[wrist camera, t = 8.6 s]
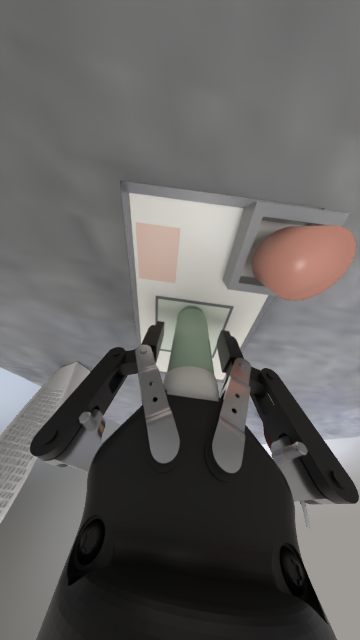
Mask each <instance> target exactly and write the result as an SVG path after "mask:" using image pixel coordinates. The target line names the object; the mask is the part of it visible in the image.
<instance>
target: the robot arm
mask: <svg viewBox="0 0 360 640" xmlns="http://www.w3.org/2000/svg"><path fill="white" fill-rule="evenodd" d="M164 324H165V322H162V321H157V323H156V325H151V326H150V327H149V328H148V330H147V333H146V335H145V337H144V339H143V341H142V344H141V345H140V346H138V347H137V348H136V349H135V350H131V351H125V350H124V349H123V348H121V347H116V348H113V349H111V350H110V351H109V352H108V353H107V354H106V355H105V356H104V357H103V359H102V360H101V361H100V362H99V363H98V364H97V365H96V367H95V368H94V369H93V370H92V371H91V372H90V373H89V375H88V376H87V377H86V378H85V379H84V380H83V381H82V382H81V384H80V385H79V386H78V387H77V388H76V389H75V390H74V392H73V393H72V394H71V395H70V396H69V397H68V398H67V399H66V401H65V402H64V403H63V404H62V405H61V406H60V407H59V409H58V410H57V411H56V412H55V413H54V414H53V415H52V417H51V418H50V419H49V420H48V421H47V422H46V423H45V424H44V426H43V427H42V428H41V429H40V430H39V431H38V432H37V434H36V435H35V436H34V438H33V440H32V442H31V444H30V452H31V454H32V455H33V456H36V457H38V458H40V460H42V461H44V462H47V463H49V464H52V465H57V466H59V467H65V466H68V465H69V466H72V467H74V468H77V469H79V470H82V471H85V472H87V473H88V478H87V494H86V502H85V508H84V512H83V517H82V521H81V524H80V527H79V530H78V533H77V536H76V538H75V541H74V544H73V546H72V549H71V551H70V554H69V556H68V559H67V561H66V563H65V566H64V569H63V571H62V574H61V576H60V579H59V582H58V584H57V587H56V590H55V592H54V595H53V597H52V600H51V603H50V605H49V608H48V610H47V613H46V616H45V618H44V621H43V623H42V626H41V629H40V631H39V634H38V637H37V639H36V640H337V639H336V637H335V634H334V632H333V630H332V628H331V626H330V623H329V622H328V619H327V617H326V615H325V613H324V611H323V608H322V606H321V604H320V602H319V600H318V598H317V595H316V593H315V591H314V589H313V586H312V584H311V582H310V579H309V577H308V575H307V572H306V569H305V567H304V564H303V561H302V558H301V554H300V550H299V546H298V541H297V534H296V527H295V506H294V501H304V502H306V503H308V504H353V503H356V502H358V499H359V495H358V491H357V489H356V487H355V485H354V483H353V481H352V480H351V478H350V477H349V476H348V474H347V473H346V471H345V470H344V468H343V467H342V466H341V464H340V463H339V461H338V460H337V458H336V457H335V456H334V454H333V453H332V451H331V450H330V448H329V447H328V446H327V444H326V443H325V441H324V440H323V439H322V437H321V436H320V434H319V433H318V431H317V430H316V429H315V427H314V426H313V424H312V423H311V421H310V420H309V419H308V417H307V416H306V414H305V413H304V412H303V410H302V409H301V407H300V406H299V404H298V403H297V402H296V400H295V399H294V397H293V396H292V395H291V393H290V392H289V390H288V389H287V387H286V386H285V385H284V383H283V382H282V380H281V379H280V378H279V376H278V375H277V374H276V373H275V372H274V371H272V370H271V369H268V368H264V369H262V370H261V371H260V370H258V369H255V368H253V367H251V365H250V363H249V362H248V361H246V360H245V359H244V358H243V355H242V353H241V350H240V348H239V345H238V342H237V340H236V339H235V338H234V337H233V336H231V335H230V332H229V331H226V330H221V332H220V335H219V337H218V340H217V350H218V355H219V360H220V365H221V370H222V373H226V375H227V376H226V378H225V380H224V383H223V386H222V389H221V392H220V395H219V398H218V401H211V400H204V399H197V398H190V397H183V396H176V395H169V394H167V390H166V389H164V386H163V383H162V379H161V376H160V372H159V369H158V366H156V363H157V359H158V355H159V352H160V348H161V344H162V341H163V337H164ZM136 373H138V377H139V384H140V391H141V398H142V406H141V407H140V408H139V409H138V410H137V411H136V412H135V413H134V414H133V415H132V416H131V417H130V418H128V419H127V420H126V421H125V422H124V423H123V424H122V425H121V426H120V427H119V428H118V429H117V430H116V431H115V432H114V433H113V434H112V435H111V436H110V437H109V438H108V439H107V440H106V441H105V442H104V443H102V441H101V437H102V433H103V431H104V428H105V419H104V417H103V415H104V414H105V412H106V410H107V409H108V407H109V405H110V404H111V402H112V400H113V399H114V397H115V395H116V394H117V392H118V390H119V389H120V387H121V385H122V384H123V382H124V380H125V379H126V377H127V375H130V374H136ZM268 394H269V395H268ZM249 396H251V398H252V400H253V402H254V404H255V407H256V409H257V411H258V413H259V415H260V418H261V420H262V422H263V424H264V426H265V428H266V431H267V433H268V435H269V437H270V439H271V441H272V445H271V450H272V458H273V459H272V458H271V457H270V455H269V454H268V453H267V451H266V450H265V449H264V448H263V446H262V445H261V444H260V443H259V441H258V440H257V439H256V437H255V436H254V435H253V434H252V432H251V431H250V430H249V429H248V427H247V426H246V425H245V424H246V417H247V410H248V403H249ZM269 396H270V397H269ZM270 398H271V399H272V401H273V402H272V401H271V399H270ZM273 403H274V404H273ZM274 405H275V406H274Z"/></svg>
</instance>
